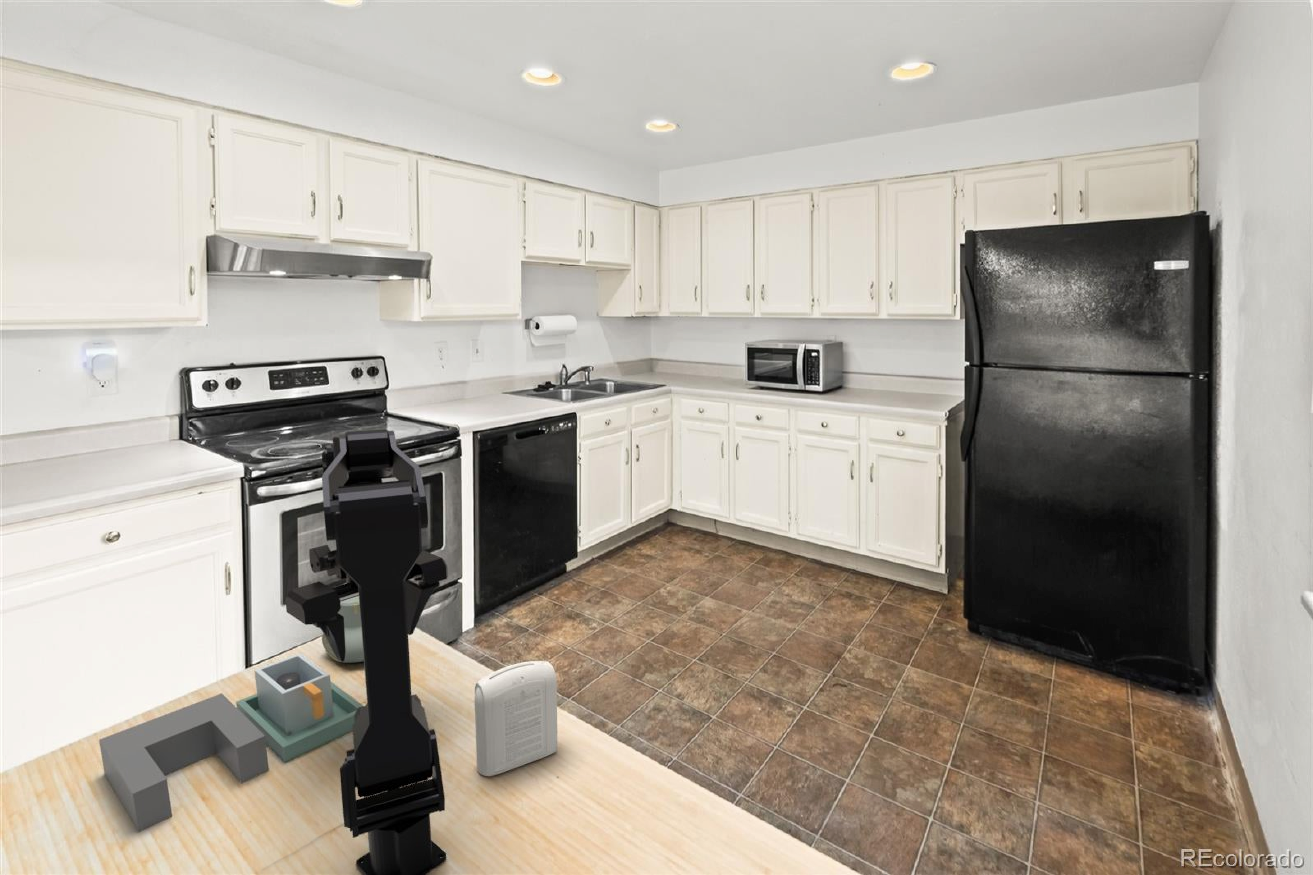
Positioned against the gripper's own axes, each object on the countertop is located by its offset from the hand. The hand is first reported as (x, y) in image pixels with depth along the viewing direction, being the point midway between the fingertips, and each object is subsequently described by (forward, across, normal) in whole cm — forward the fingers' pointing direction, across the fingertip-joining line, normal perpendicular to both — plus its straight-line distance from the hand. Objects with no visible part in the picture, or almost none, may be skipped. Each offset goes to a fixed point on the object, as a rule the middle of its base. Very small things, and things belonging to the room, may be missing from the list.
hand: (376, 646), depth 87 cm
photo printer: (+12, -8, +18) cm, 23 cm away
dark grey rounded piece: (+11, +6, -13) cm, 18 cm away
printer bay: (+12, +20, -10) cm, 25 cm away
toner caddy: (+11, +6, -10) cm, 16 cm away
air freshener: (+12, -8, -22) cm, 26 cm away
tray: (+12, +6, -10) cm, 17 cm away
